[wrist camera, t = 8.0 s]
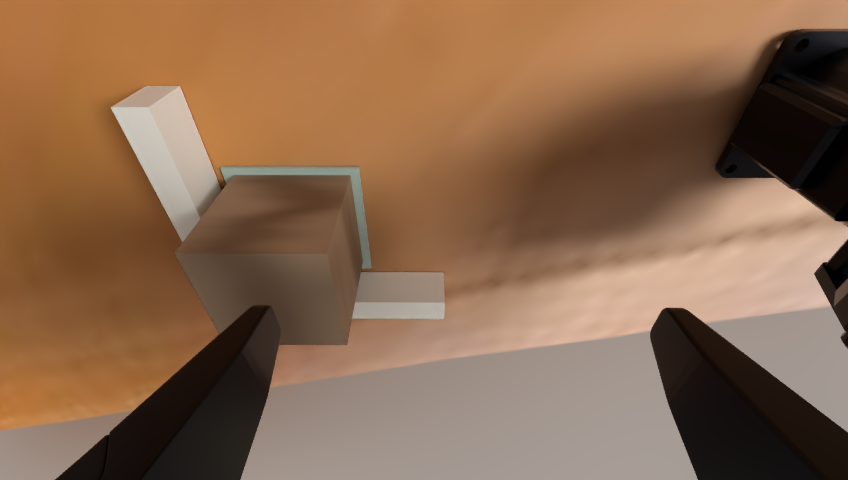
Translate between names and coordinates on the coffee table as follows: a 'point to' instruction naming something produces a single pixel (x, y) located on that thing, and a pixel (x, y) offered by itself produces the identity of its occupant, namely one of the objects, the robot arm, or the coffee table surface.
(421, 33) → the coffee table surface
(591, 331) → the coffee table surface
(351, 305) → the walnut cube
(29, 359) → the coffee table surface
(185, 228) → the white angled bracket
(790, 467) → the robot arm
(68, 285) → the coffee table surface
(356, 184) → the pad
